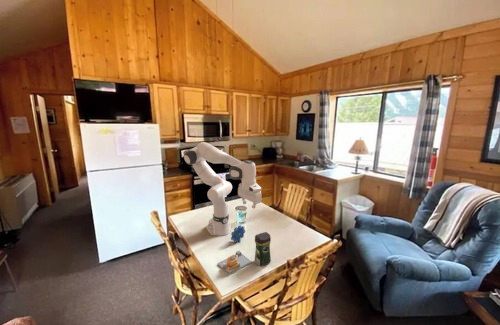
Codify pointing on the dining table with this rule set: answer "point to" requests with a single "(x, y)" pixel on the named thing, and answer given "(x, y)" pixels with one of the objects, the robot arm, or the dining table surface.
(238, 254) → the routed cable
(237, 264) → the bracket
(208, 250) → the dining table surface
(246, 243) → the dining table surface
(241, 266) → the routing panel
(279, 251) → the dining table surface
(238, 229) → the grapes
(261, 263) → the coffee jar
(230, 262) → the block
